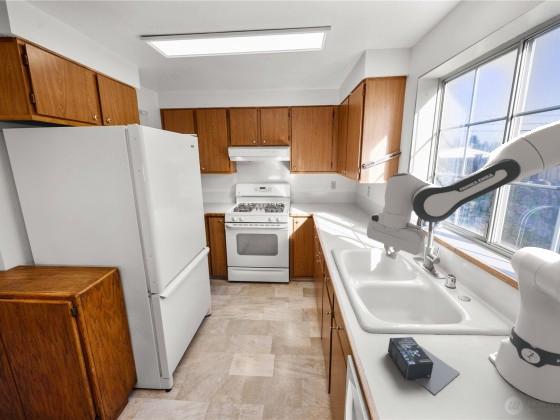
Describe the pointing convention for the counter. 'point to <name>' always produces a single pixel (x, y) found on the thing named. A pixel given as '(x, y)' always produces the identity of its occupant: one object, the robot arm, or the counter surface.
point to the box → (410, 358)
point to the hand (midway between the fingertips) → (390, 257)
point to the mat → (437, 374)
